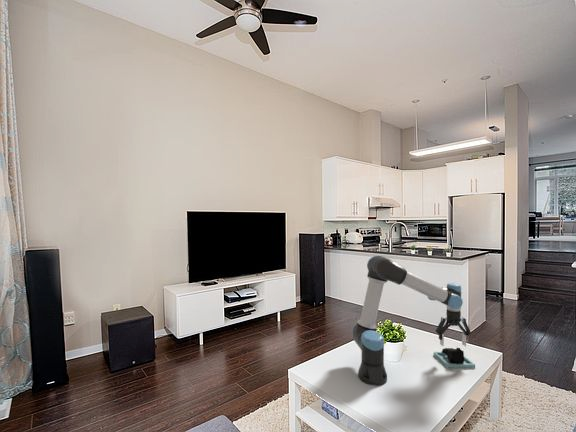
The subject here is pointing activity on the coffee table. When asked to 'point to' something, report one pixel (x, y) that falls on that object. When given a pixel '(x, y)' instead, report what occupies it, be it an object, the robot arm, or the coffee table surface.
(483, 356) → the coffee table surface
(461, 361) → the toy
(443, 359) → the tray
